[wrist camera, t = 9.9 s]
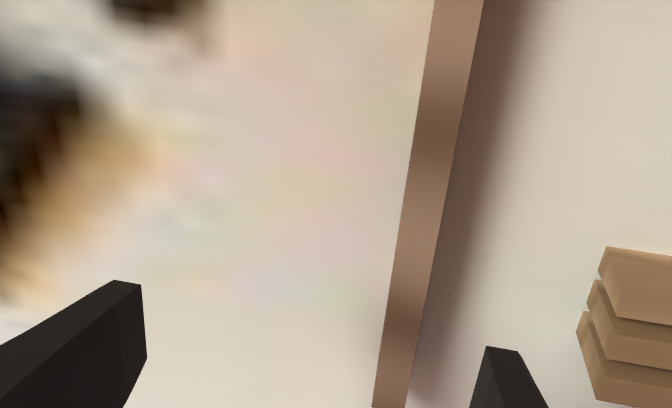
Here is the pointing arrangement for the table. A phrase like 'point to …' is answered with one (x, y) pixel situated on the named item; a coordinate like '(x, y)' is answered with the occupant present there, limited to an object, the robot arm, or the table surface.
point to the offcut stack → (630, 329)
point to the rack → (425, 191)
